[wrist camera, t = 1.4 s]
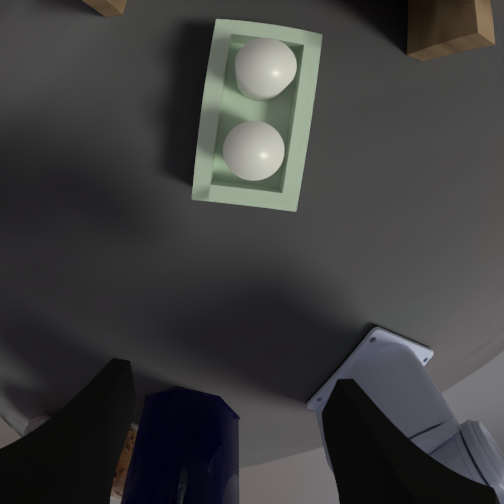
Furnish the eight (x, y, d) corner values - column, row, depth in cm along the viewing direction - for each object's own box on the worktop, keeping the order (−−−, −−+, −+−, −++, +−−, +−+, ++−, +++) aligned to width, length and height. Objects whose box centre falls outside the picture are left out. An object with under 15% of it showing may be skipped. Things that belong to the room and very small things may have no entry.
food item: (70, 443, 27) (50, 500, 18) (32, 404, 24) (1, 464, 15) (155, 447, 26) (142, 522, 17) (115, 404, 23) (87, 490, 14)
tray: (288, 200, 17) (304, 223, 12) (198, 190, 16) (184, 210, 12) (310, 47, 13) (334, 21, 9) (219, 34, 13) (212, 2, 9)
